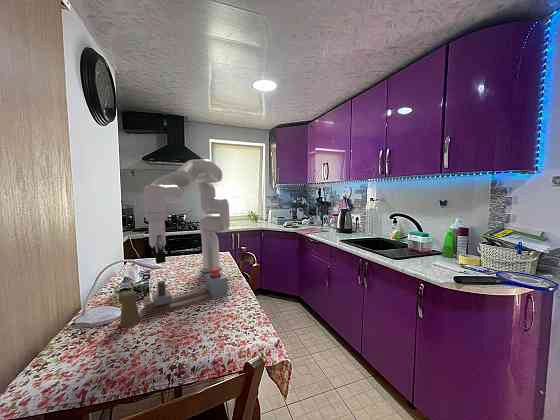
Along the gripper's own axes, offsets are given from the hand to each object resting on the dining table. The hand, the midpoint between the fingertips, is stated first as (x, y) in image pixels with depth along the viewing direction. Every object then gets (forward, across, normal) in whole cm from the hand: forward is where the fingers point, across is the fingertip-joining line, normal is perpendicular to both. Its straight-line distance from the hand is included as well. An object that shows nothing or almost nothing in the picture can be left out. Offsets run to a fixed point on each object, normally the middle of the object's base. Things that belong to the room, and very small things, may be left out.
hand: (159, 259), depth 91 cm
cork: (+20, +5, -11) cm, 23 cm away
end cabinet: (+19, 0, +22) cm, 30 cm away
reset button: (+12, 0, +22) cm, 25 cm away
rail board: (+20, 0, +6) cm, 20 cm away
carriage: (+18, 0, 0) cm, 18 cm away
